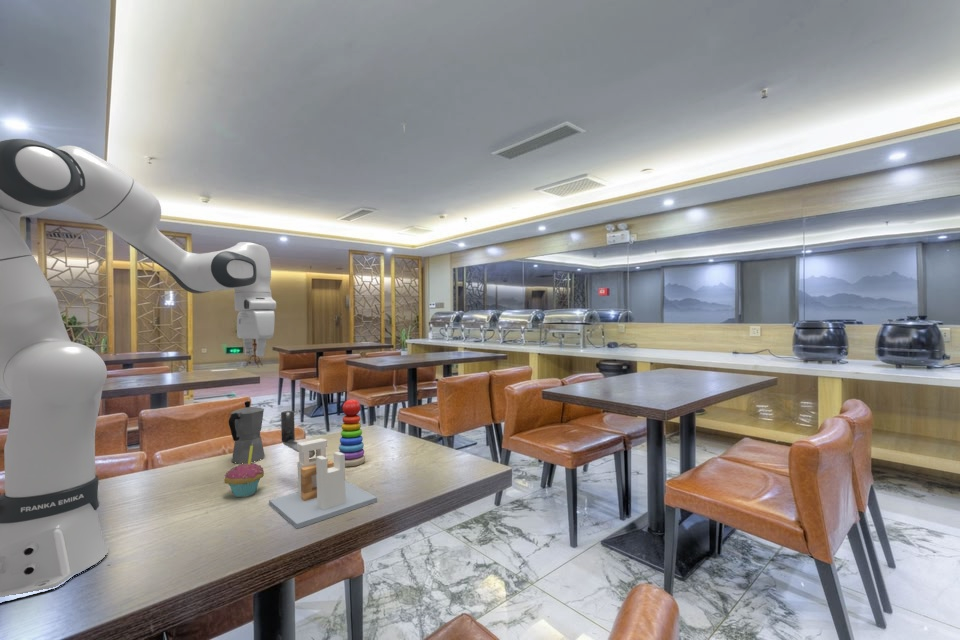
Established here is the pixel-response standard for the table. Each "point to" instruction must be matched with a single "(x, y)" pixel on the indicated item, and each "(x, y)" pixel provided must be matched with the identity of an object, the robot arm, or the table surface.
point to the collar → (309, 481)
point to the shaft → (290, 431)
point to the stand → (321, 489)
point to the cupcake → (244, 477)
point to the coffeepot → (246, 433)
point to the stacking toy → (352, 435)
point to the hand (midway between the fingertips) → (254, 355)
